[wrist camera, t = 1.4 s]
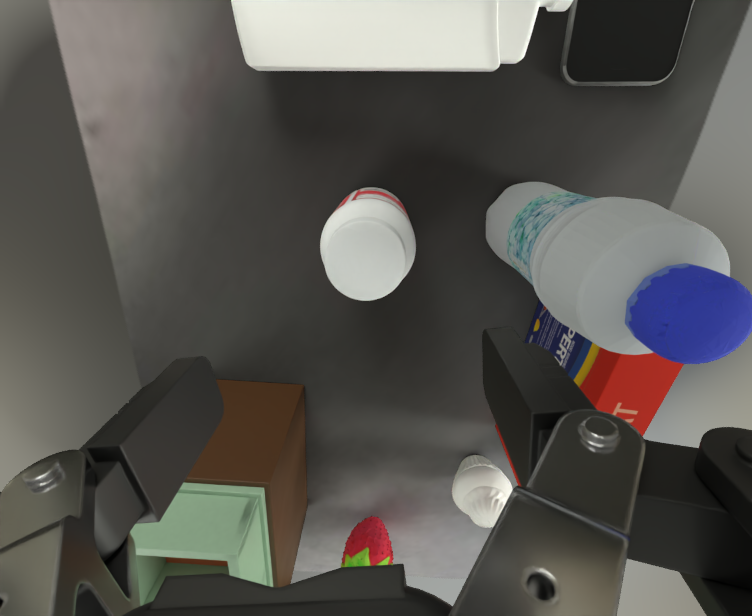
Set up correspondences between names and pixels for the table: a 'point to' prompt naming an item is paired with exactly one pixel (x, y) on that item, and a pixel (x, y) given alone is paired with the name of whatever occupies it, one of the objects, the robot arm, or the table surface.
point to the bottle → (623, 272)
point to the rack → (236, 496)
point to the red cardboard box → (605, 372)
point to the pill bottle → (368, 244)
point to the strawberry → (368, 545)
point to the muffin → (480, 490)
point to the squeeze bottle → (386, 33)
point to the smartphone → (623, 41)
